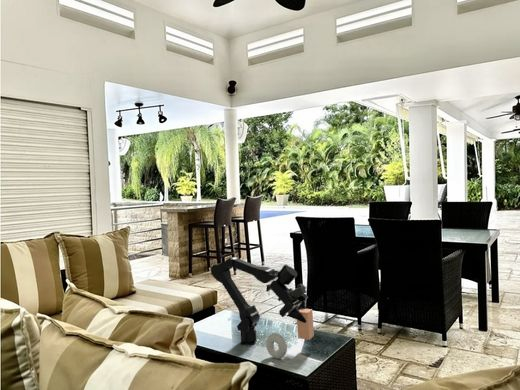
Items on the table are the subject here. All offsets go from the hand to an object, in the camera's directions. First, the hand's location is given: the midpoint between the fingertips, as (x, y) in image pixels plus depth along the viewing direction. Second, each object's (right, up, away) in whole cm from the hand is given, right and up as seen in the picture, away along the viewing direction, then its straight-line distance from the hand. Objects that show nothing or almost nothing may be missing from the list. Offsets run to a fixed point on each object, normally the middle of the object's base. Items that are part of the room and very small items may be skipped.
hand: (308, 320), depth 167 cm
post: (-1, -7, +1) cm, 7 cm away
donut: (-13, -14, -6) cm, 20 cm away
